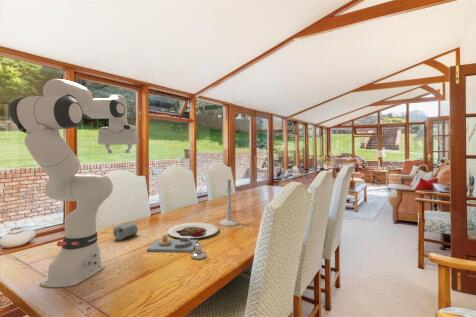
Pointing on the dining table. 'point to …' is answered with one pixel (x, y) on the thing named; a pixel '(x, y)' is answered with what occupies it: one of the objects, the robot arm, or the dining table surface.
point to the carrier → (172, 245)
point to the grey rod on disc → (229, 210)
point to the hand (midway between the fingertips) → (118, 153)
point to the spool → (125, 230)
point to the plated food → (193, 230)
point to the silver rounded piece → (198, 252)
